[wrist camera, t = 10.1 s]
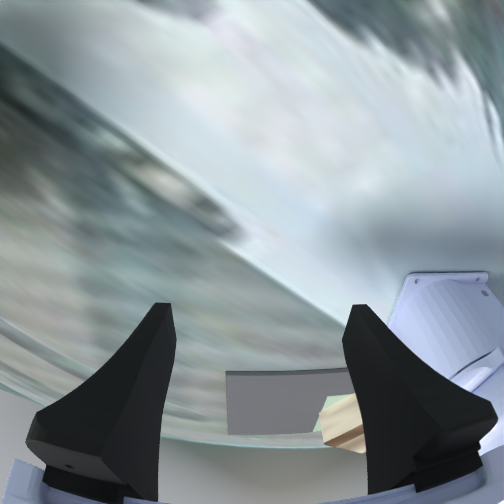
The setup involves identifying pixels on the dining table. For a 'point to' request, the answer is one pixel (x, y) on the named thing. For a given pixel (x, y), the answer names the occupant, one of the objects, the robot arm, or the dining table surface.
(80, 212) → the dining table surface
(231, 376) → the mat
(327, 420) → the block
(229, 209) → the dining table surface
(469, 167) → the dining table surface
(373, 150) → the dining table surface
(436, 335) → the robot arm
